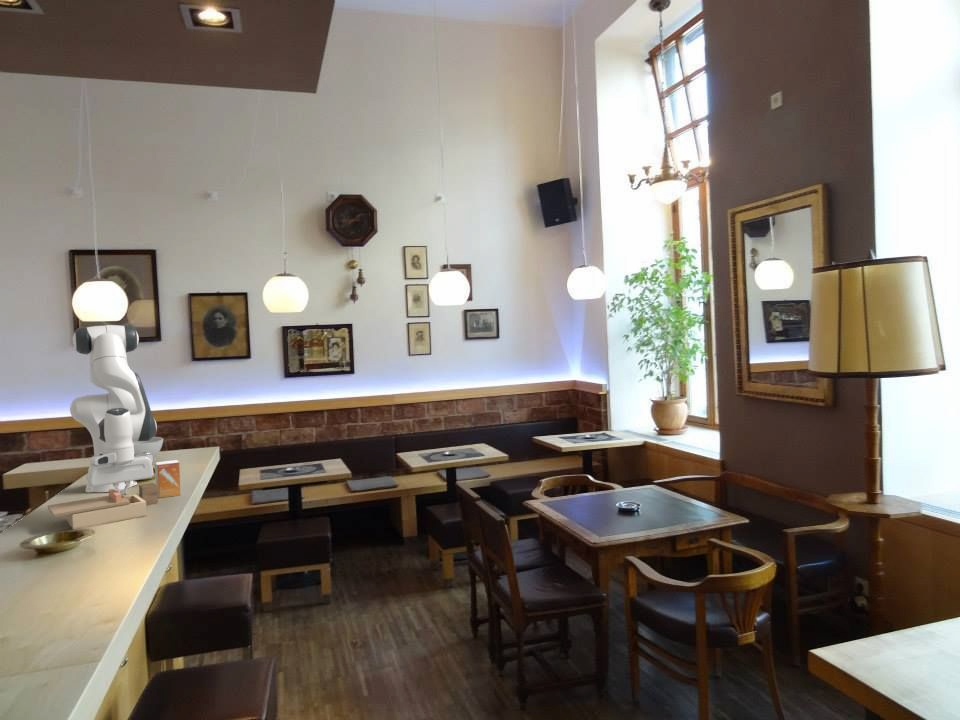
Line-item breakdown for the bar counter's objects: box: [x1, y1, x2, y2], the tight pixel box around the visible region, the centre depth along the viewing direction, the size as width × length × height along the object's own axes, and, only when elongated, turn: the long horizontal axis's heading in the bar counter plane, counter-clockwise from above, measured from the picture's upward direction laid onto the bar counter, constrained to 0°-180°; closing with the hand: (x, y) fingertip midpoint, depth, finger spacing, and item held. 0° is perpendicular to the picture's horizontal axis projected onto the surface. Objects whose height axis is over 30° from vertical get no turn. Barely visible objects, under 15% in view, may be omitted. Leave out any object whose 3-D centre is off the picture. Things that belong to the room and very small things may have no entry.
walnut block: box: [138, 482, 159, 506], centre depth 250 cm, size 5×5×7 cm
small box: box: [154, 459, 182, 499], centre depth 262 cm, size 8×6×13 cm
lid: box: [47, 489, 130, 517], centre depth 228 cm, size 15×22×3 cm
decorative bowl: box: [133, 436, 164, 460], centre depth 323 cm, size 27×27×12 cm
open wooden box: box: [65, 493, 148, 530], centre depth 232 cm, size 15×22×5 cm
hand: (122, 494), depth 235 cm, fingers closed
